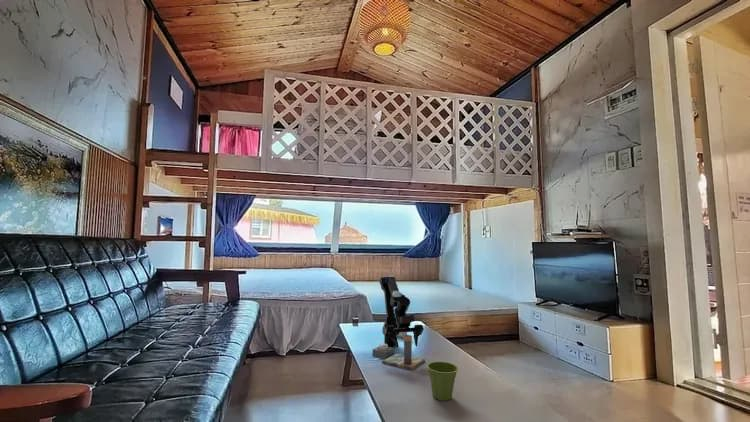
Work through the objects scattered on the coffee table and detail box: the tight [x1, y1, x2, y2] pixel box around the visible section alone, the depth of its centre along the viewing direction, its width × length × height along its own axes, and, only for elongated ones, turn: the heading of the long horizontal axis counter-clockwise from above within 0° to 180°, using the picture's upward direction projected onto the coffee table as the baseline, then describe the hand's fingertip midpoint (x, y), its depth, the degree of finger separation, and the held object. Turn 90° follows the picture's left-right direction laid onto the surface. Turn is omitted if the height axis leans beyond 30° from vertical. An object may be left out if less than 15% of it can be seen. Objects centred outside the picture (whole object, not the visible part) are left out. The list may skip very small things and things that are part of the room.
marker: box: [403, 334, 413, 365], centre depth 172 cm, size 4×4×12 cm
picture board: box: [381, 353, 426, 371], centre depth 176 cm, size 16×14×1 cm
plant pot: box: [426, 361, 459, 402], centre depth 139 cm, size 12×12×11 cm
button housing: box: [372, 346, 395, 359], centre depth 187 cm, size 8×8×3 cm
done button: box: [378, 343, 388, 351], centre depth 187 cm, size 4×4×3 cm
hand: (407, 346), depth 173 cm, fingers open, 9 cm apart
